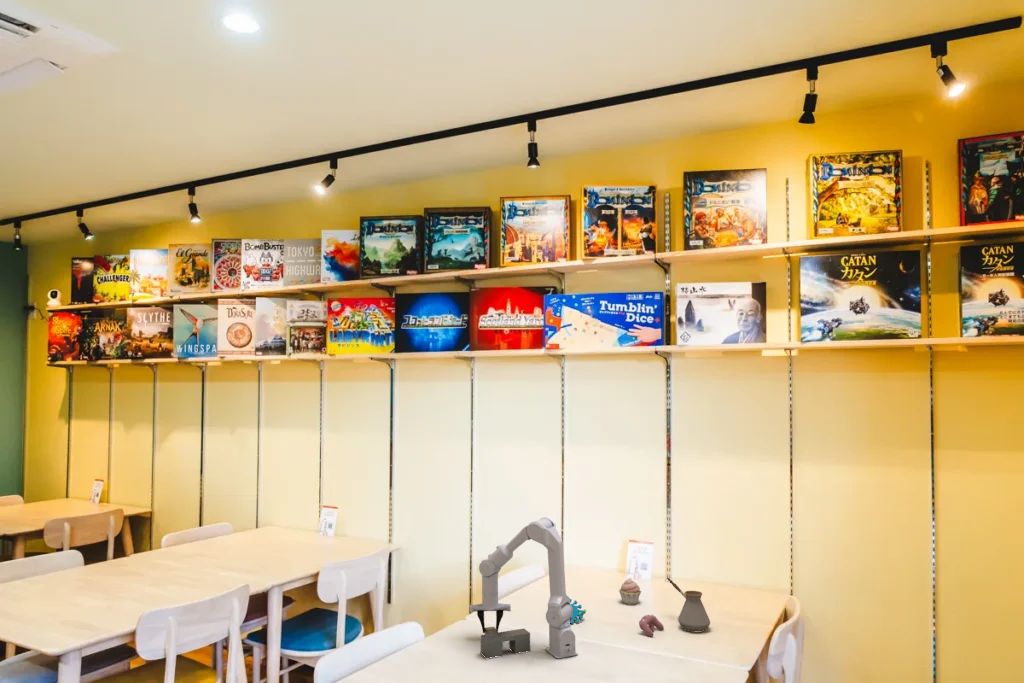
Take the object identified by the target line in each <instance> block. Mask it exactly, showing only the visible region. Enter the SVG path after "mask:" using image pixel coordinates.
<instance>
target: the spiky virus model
mask: <svg viewBox="0 0 1024 683" xmlns="http://www.w3.org/2000/svg"><path fill="white" fill-rule="evenodd" d="M572 600H573V599H571V598H570V604H571V606H572V608H573V615H572V617H571V618H570V623H572V624H571V625H574V623H575V624H580V621H581V620H583V618H584V615H586V613H587V609H582V608H583V607H582V605H581V604H579V605H577V604H578V601H577V600H576V599H575V600H574V601H573V602H572ZM574 619H575V621H574Z"/></svg>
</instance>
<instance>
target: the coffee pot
mask: <svg viewBox="0 0 1024 683" xmlns="http://www.w3.org/2000/svg"><path fill="white" fill-rule="evenodd" d="M666 580H667V581H666ZM664 582H665V583H669V584H671V586H672V587H673V588H674V589H675V590H676V591H677V592H679V593H680V594H681V595H682V596H683V598H685V601H684V604H683V606H682V608H681V610H680V613H679V616H678V618H677V621H678V624H679V625H680V627H682V628H683V629H684V630H685V629H686V630H685V631H687V630H689V631H688V632H690V631H703V630H705V631H706V629H708V628H709V627H710V625H711V621H710V618H709V616H708V613H707V611H706V608H705V606H704V604H703V601H702V599H701V598H702V596H703V593H702V591H699V590H698V591H697V590H686V591H682V589H681V588H680V587H679V586H678V585H677V584H676V583H675V582H673V580H672V579H671V578H670V577H669V576H668V577H667V578H666V579H664ZM703 632H704V631H703Z"/></svg>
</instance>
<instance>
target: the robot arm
mask: <svg viewBox="0 0 1024 683" xmlns="http://www.w3.org/2000/svg"><path fill="white" fill-rule="evenodd" d="M556 526H557V525H556V523H555V522H554V521H553V520H551V519H550V518H548V517H541V518H540V519H538V520H535V521H531V522H530V523H529V524H528V525H526V526H524V527H523V528H522V529H521V530H519V532H518V533H517V534H516V535H515V536H514V537H513V538H511V540H510V541H509V542H508V543H507V544H504V543H503V544H499V545H497V546H496V548H495V550H494V552H492V553H490V554H488V555H487V558H486V559H482V560H481V561H480V563H479V566H478V569H479V570H478V571H479V573H480V575H481V585H482V586H481V603H478V604H469V613H473V612H476V615H477V617H478V620H479V622H480V626H481V628H482V629H481V630H482V633H483V634H485V628H486V627H485V625H486V624H485V612H495V616H496V617H495V619H496V621H495V629H496V630H497V631H498V632H499V628H500V624H501V621H502V618H503V617H504V616H503V615H504V612H511V608H512V607H511V604H510V603H509V604H508V603H499V572H500V571H501V570H502V567H503V566H505V565H506V564H507V563H508V562H509V561H510V560H512V558H513V556H514V552H515V551H516V550H517V549H518V548H519V547H520V546H522V545H523V544H524V543H525V542H526V541H530V540H532V541H534V542H536V543H539V544H540V545H542V546H543V547H545V548H546V550H547V562H548V578H549V580H548V581H549V594H550V596H549V598H548V602H547V610H546V613H545V620H546V622H547V623H548V628H549V629H548V630H549V632H548V635H549V636H548V637H549V639H548V640H549V641H548V642H549V643H548V644H549V646H546V647H544V650H545V651H547V652H548V653H549V654H550V655H551V656H553V657H554V658H555V659H562V658H567V657H569V658H570V657H574V656H578V655H579V654H578V652H577V651H576V634H575V632H574V631H573V630H572V628H571V626H572V625H571V624H570V622H571V619H570V618H571V617H572V615H573V608H572V606H571V604H572V603H571V602H570V599H571V598H570V597H569V596H568V595H567V590H566V587H567V586H566V577H565V576H566V574H565V572H566V571H565V560H564V559H565V556H564V542H563V540H562V537H561V535H560V533H559V532H558V530H557V528H556Z"/></svg>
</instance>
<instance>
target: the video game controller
mask: <svg viewBox="0 0 1024 683" xmlns="http://www.w3.org/2000/svg"><path fill="white" fill-rule="evenodd" d="M638 625H639V628H640V630H642V631H643V633H644V634H645V635H646V636H647V637H649V636H651V637H650V638H653V637H654V632H653V630H654V631H655V628H656V629H657V630H659V631H661V630H663V631H664V630H665V629H664V628H665V627H664V625H663V623H662V622H660V620H659V619H658V618H657V617H656V616H655V615H654V614H647V615H646V614H645V615H644V616H642V617H641V619H640V620H639V622H638Z"/></svg>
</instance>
